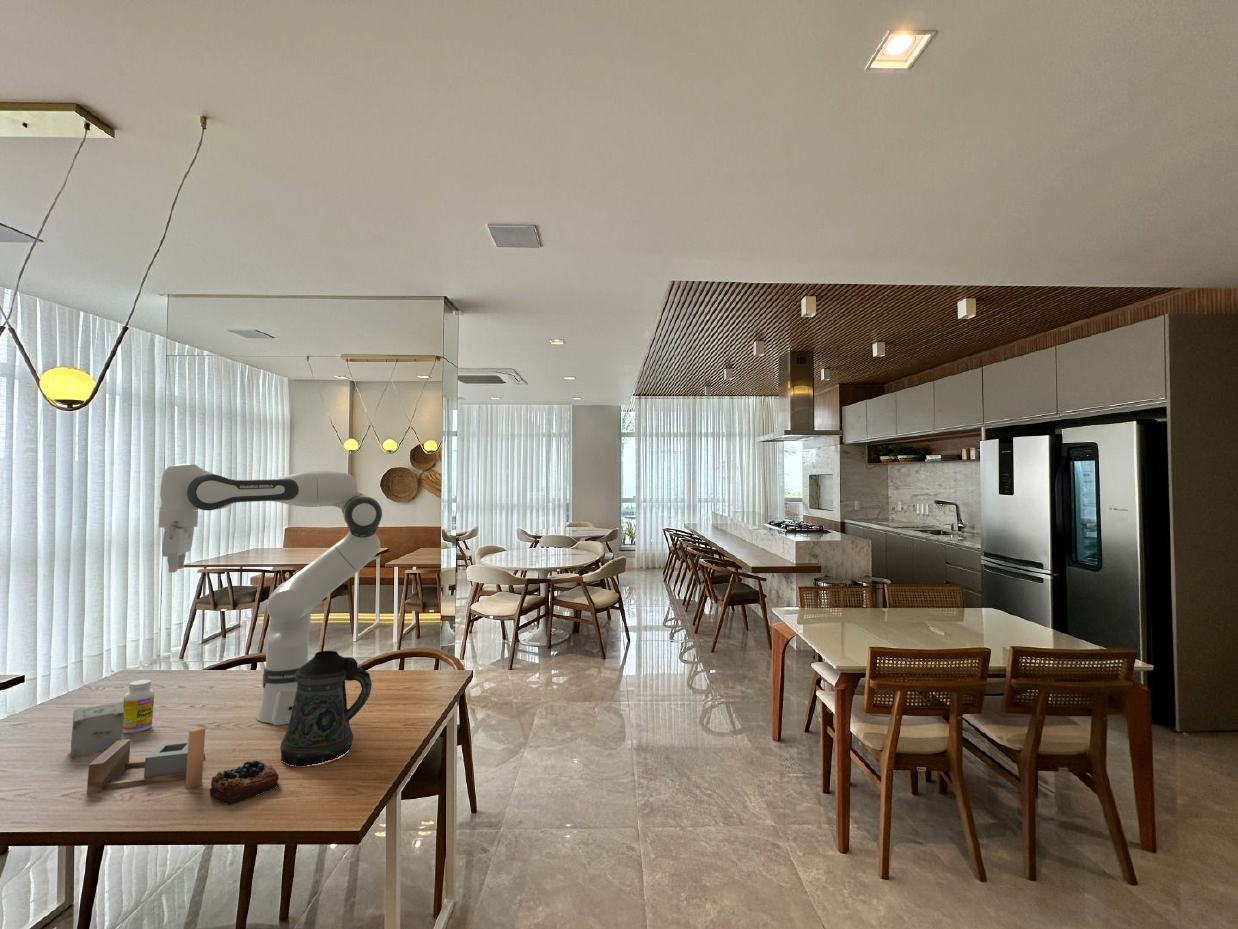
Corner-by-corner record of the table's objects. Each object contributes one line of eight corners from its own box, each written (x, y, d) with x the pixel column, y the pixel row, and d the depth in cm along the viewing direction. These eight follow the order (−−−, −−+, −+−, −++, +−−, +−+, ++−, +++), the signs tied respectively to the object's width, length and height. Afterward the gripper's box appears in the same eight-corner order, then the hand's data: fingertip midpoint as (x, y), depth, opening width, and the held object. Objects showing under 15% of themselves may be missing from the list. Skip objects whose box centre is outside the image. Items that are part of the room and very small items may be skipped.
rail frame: (206, 755, 146) (207, 731, 146) (187, 780, 133) (189, 753, 133) (115, 766, 140) (117, 740, 140) (86, 793, 127) (88, 764, 127)
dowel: (203, 781, 133) (207, 726, 134) (199, 787, 130) (203, 731, 131) (188, 783, 132) (191, 728, 133) (183, 789, 129) (186, 733, 130)
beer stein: (273, 751, 149) (278, 651, 151) (354, 733, 161) (358, 641, 163) (287, 774, 136) (292, 665, 138) (373, 753, 149) (377, 652, 151)
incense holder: (69, 761, 142) (72, 717, 143) (70, 750, 148) (73, 708, 149) (122, 750, 149) (125, 708, 150) (120, 740, 155) (123, 699, 156)
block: (198, 759, 143) (199, 738, 144) (186, 775, 135) (187, 753, 135) (158, 764, 141) (160, 742, 141) (143, 780, 132) (145, 758, 132)
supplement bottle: (134, 735, 158) (137, 686, 159) (114, 733, 160) (118, 684, 160) (158, 726, 165) (161, 679, 166) (139, 724, 166) (142, 677, 167)
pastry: (202, 794, 127) (203, 766, 128) (260, 774, 137) (262, 748, 137) (225, 809, 121) (227, 780, 121) (285, 787, 131) (286, 760, 131)
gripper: (185, 522, 158) (183, 573, 157) (198, 520, 176) (195, 566, 175) (156, 522, 155) (153, 575, 154) (171, 520, 173) (169, 567, 172)
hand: (176, 570), depth 165 cm, fingers open, 8 cm apart
